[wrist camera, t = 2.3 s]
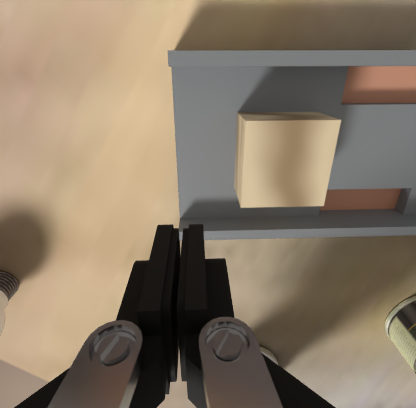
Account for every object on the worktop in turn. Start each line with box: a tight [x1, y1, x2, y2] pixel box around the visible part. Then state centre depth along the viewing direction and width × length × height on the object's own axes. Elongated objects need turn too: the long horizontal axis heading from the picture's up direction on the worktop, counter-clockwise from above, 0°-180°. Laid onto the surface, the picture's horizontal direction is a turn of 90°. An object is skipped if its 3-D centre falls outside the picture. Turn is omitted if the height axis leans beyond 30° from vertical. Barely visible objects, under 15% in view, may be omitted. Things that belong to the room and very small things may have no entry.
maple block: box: [234, 112, 341, 208], centre depth 23 cm, size 7×7×4 cm
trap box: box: [168, 50, 416, 241], centre depth 25 cm, size 37×16×4 cm, turn 90°
